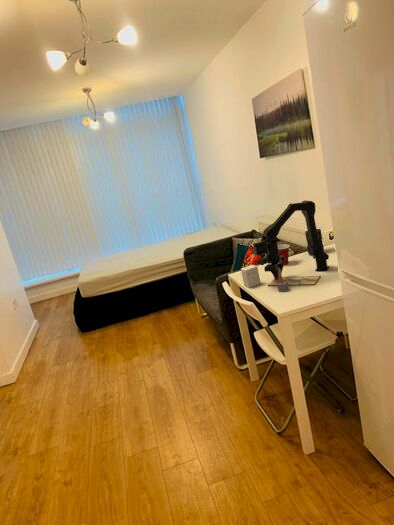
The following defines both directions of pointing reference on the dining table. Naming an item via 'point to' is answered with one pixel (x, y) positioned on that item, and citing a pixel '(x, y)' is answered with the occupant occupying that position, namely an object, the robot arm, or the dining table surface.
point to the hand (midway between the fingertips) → (278, 278)
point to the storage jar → (318, 238)
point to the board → (297, 281)
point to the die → (283, 286)
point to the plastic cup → (284, 252)
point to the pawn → (279, 277)
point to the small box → (250, 276)
